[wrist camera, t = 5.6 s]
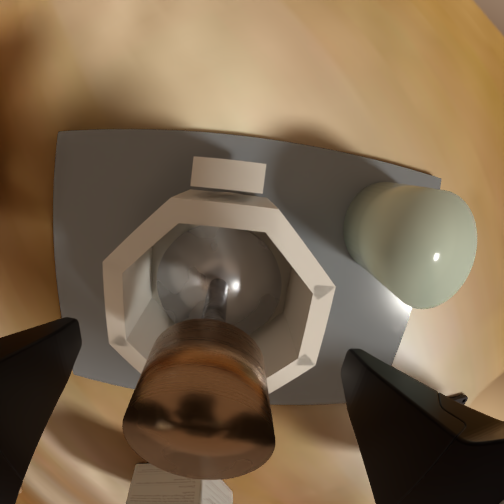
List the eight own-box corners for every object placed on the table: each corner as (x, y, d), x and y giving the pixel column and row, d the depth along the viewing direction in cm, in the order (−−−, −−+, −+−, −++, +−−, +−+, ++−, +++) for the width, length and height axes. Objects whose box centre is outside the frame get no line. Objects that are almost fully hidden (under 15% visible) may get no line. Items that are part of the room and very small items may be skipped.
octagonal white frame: (317, 175, 14) (355, 178, 9) (286, 348, 17) (302, 406, 12) (148, 156, 13) (106, 152, 9) (143, 333, 16) (115, 387, 11)
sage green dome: (426, 191, 15) (485, 203, 10) (409, 274, 16) (459, 309, 11) (351, 173, 14) (401, 177, 9) (335, 266, 15) (373, 307, 11)
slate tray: (435, 178, 15) (441, 178, 14) (372, 395, 19) (375, 400, 19) (63, 132, 13) (58, 131, 13) (77, 369, 17) (73, 374, 17)
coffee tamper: (288, 230, 13) (377, 341, 5) (270, 340, 15) (300, 500, 6) (161, 216, 13) (40, 303, 4) (159, 328, 14) (98, 478, 6)
